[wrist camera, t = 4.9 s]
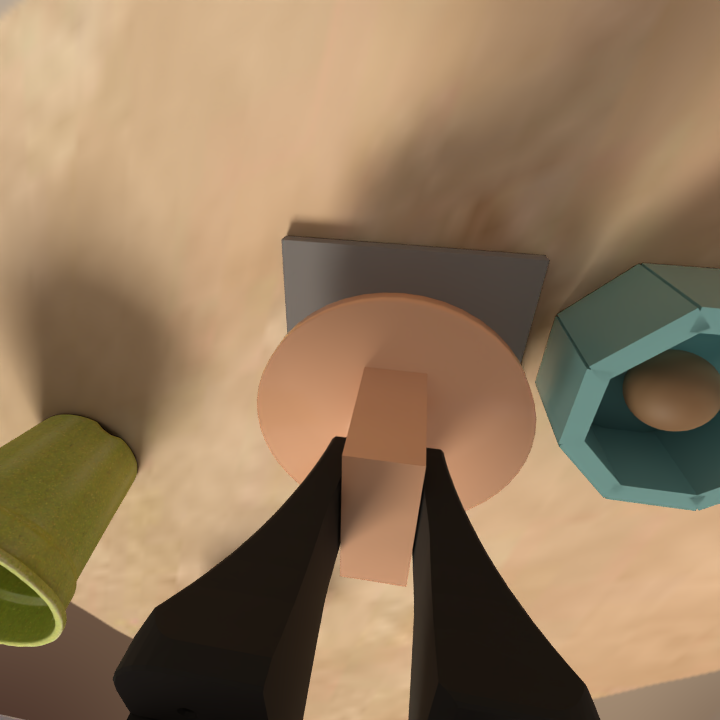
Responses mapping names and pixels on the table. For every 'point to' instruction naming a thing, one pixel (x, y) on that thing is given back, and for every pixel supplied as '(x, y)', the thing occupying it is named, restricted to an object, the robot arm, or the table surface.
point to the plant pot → (54, 519)
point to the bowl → (605, 385)
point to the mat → (416, 280)
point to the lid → (395, 414)
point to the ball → (673, 391)
